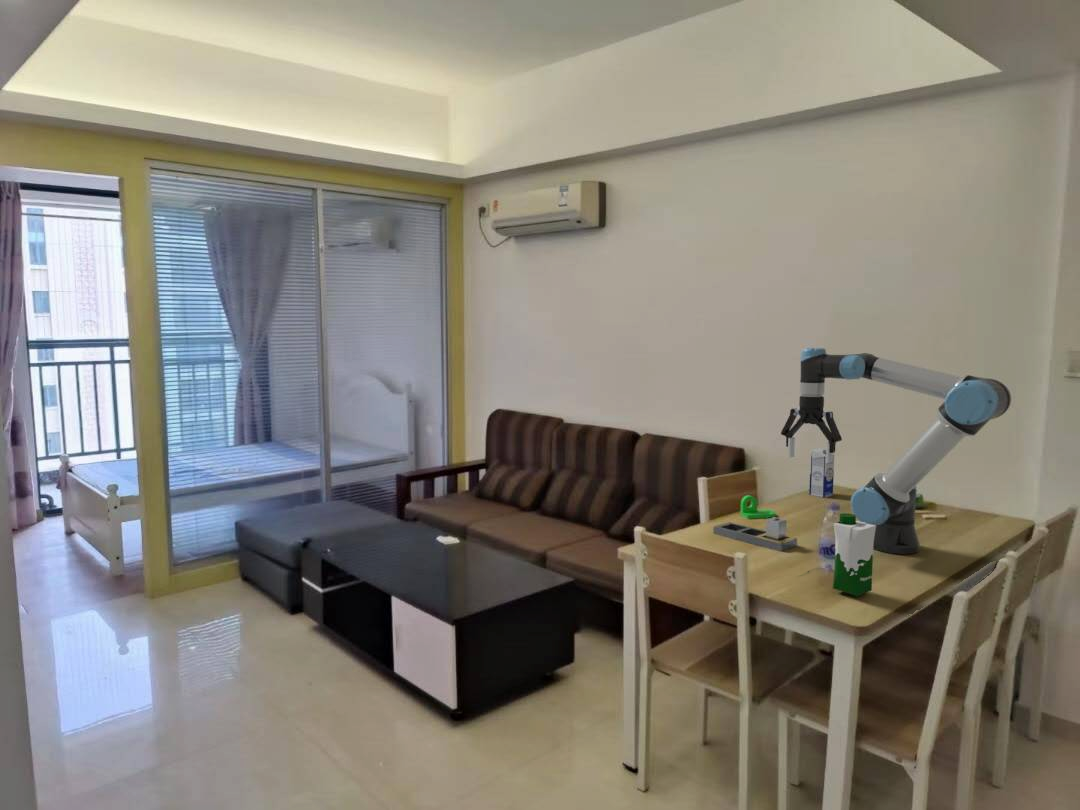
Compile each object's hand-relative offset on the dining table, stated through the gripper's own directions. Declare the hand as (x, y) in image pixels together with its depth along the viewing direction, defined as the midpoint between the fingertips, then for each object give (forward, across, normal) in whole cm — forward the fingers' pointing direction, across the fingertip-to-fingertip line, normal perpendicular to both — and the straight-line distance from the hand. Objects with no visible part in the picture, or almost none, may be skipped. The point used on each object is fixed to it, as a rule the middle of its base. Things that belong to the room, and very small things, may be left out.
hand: (809, 459), depth 240 cm
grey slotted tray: (+27, +11, +14) cm, 32 cm away
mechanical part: (+27, +26, -12) cm, 40 cm away
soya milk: (+27, -33, +34) cm, 54 cm away
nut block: (+26, +3, +14) cm, 30 cm away
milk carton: (+27, +28, -59) cm, 71 cm away
